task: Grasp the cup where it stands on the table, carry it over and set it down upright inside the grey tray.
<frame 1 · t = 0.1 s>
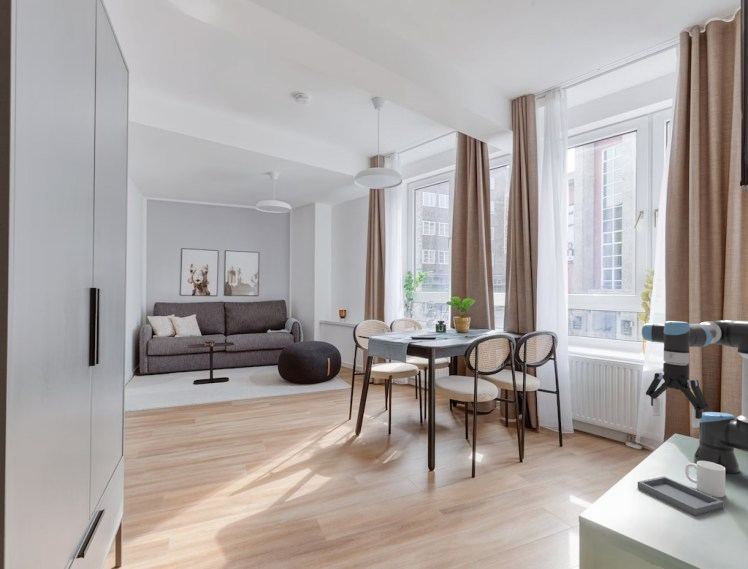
hand: (674, 421, 146), 28 cm above the table, fingers open, 13 cm apart
grey tray: (678, 498, 145), on the table
cup: (704, 490, 152), on the table
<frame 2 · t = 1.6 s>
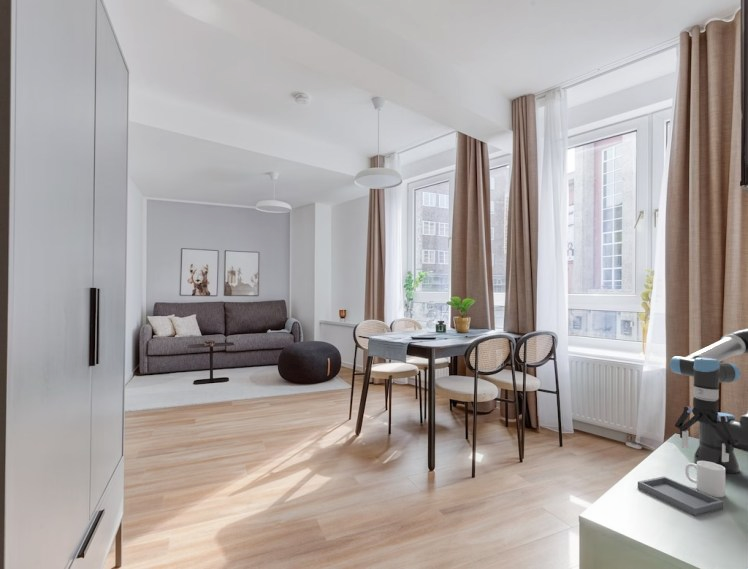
hand: (704, 454, 152), 14 cm above the table, fingers open, 13 cm apart
nothing on the table moved.
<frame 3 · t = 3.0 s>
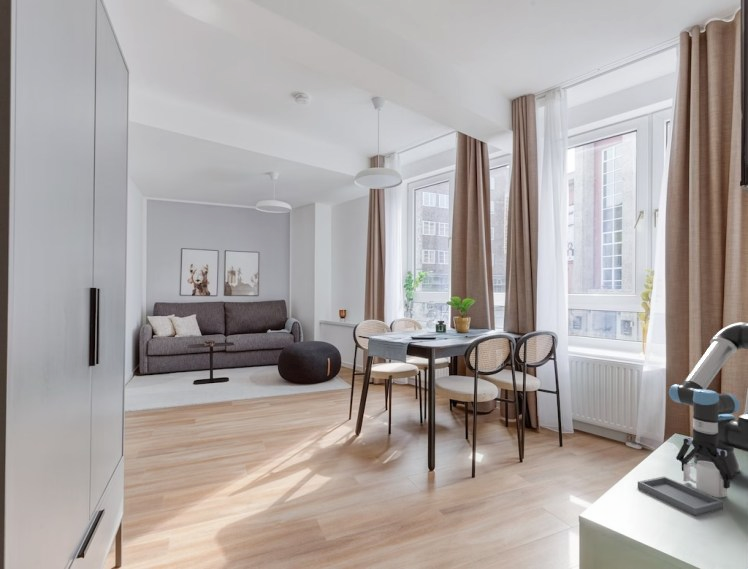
hand: (704, 488, 152), 1 cm above the table, fingers closed on cup, 12 cm apart
cup: (704, 490, 152), on the table, touching gripper
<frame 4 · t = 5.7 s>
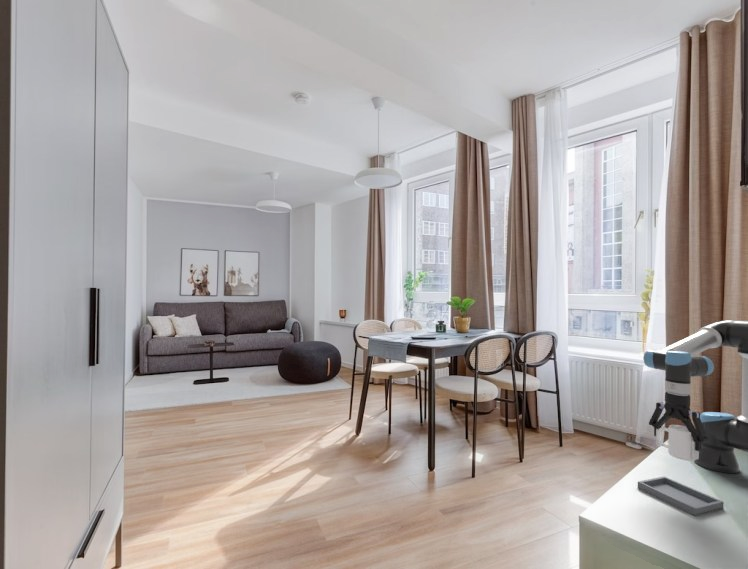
hand: (676, 452, 147), 16 cm above the table, fingers closed on cup, 12 cm apart
cup: (676, 455, 147), point 15 cm above the table, touching gripper
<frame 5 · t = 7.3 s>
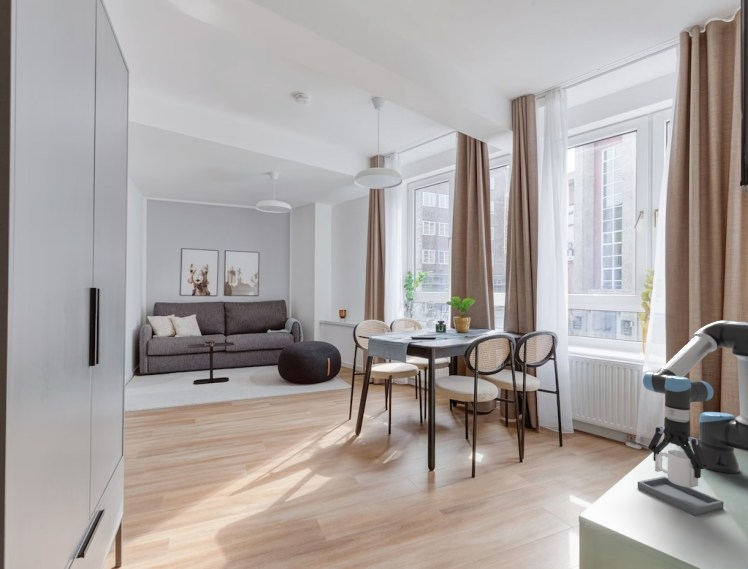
hand: (675, 478, 146), 7 cm above the table, fingers closed on cup, 12 cm apart
cup: (675, 481, 147), point 6 cm above the table, touching gripper
when the fingers open (3 cm above the table, at t = 8.7 s): cup drops 2 cm, resting on grey tray.
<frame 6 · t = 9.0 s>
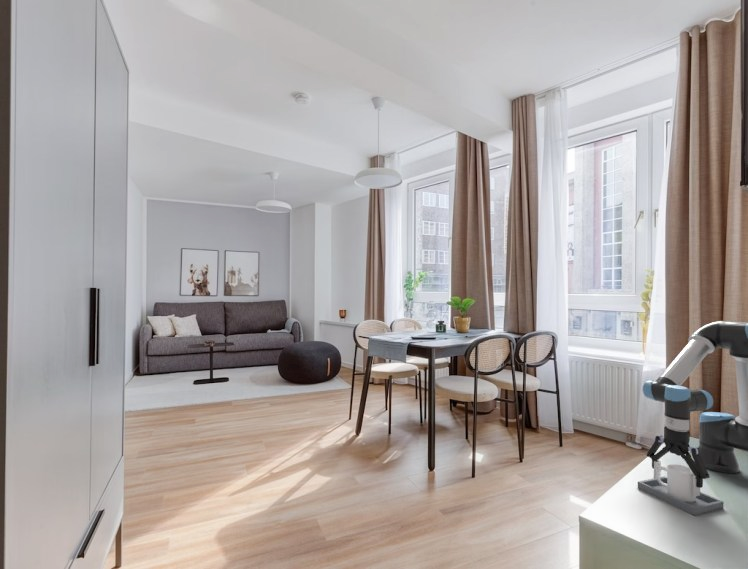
hand: (675, 486, 146), 4 cm above the table, fingers open, 13 cm apart
cup: (675, 495, 147), resting on grey tray
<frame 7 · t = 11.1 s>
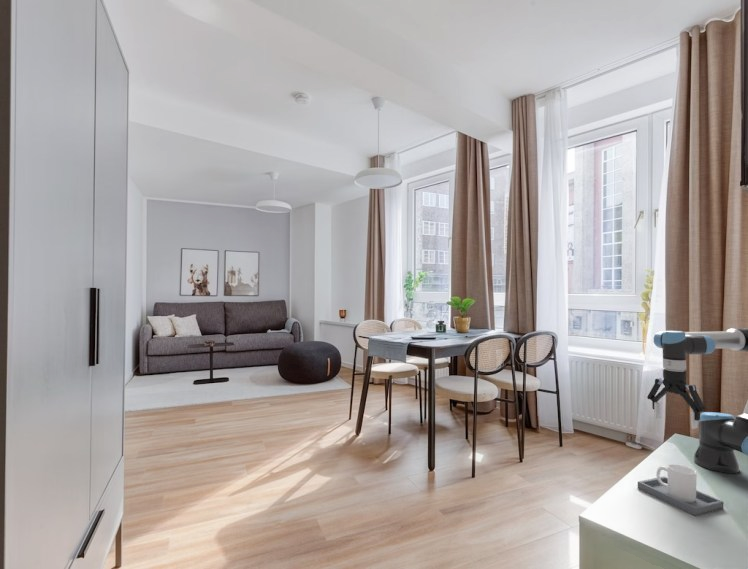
hand: (675, 423, 159), 23 cm above the table, fingers open, 13 cm apart
nothing on the table moved.
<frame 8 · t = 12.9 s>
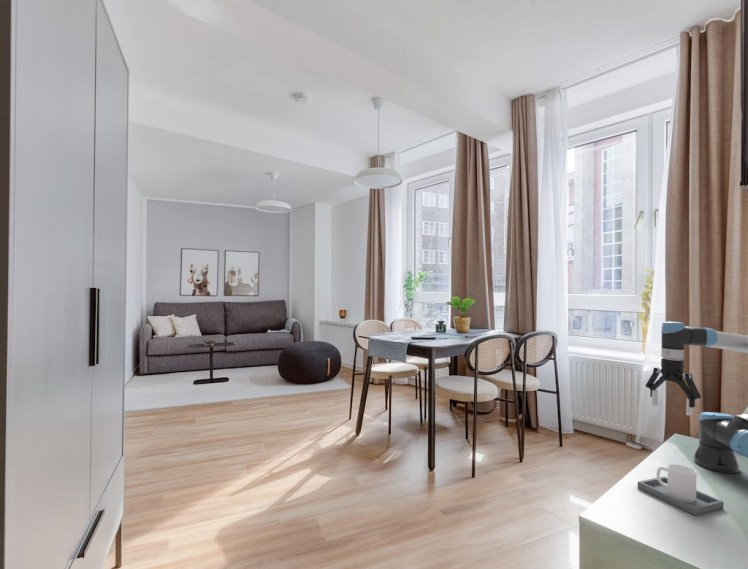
hand: (671, 410, 165), 27 cm above the table, fingers open, 13 cm apart
nothing on the table moved.
at the end: cup inside the target area on the grey tray (1.1 cm from its centre), point 0.4 cm above the grey tray's base; cup tilted 0°; the gripper is holding nothing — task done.
